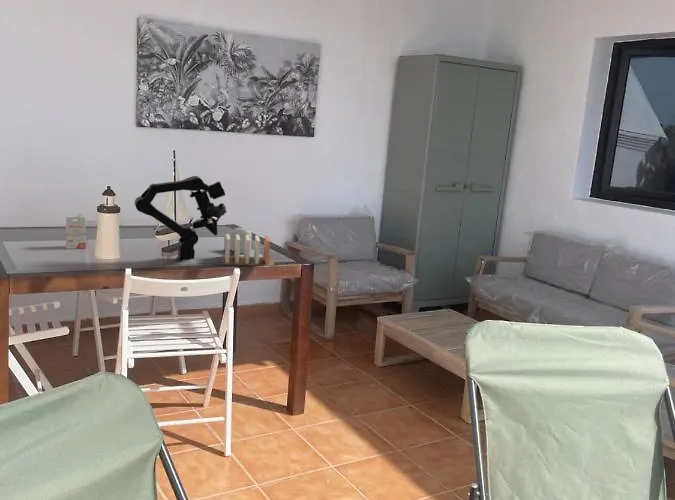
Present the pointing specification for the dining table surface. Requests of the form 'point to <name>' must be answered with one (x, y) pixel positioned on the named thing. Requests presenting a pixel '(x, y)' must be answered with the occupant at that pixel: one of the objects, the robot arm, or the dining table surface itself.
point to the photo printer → (241, 238)
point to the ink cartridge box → (75, 233)
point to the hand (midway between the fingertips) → (216, 235)
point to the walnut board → (251, 261)
